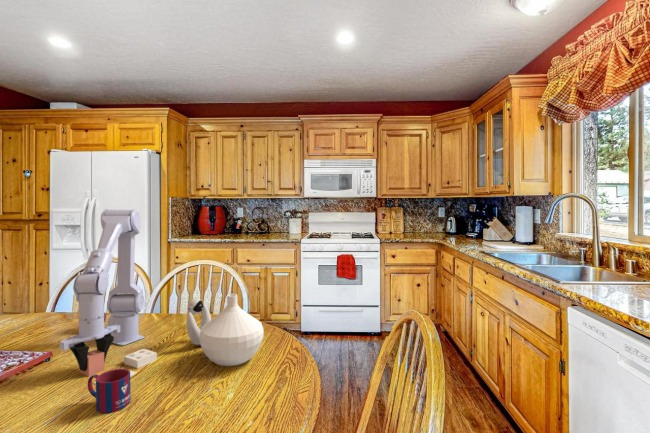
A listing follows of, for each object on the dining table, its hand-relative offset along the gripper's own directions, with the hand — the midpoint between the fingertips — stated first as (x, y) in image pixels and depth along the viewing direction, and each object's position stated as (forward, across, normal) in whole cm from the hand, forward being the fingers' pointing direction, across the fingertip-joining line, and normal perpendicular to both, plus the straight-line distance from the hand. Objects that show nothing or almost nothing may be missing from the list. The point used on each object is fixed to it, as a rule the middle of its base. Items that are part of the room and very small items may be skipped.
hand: (92, 366), depth 95 cm
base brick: (+2, +10, -6) cm, 12 cm away
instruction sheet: (+1, +1, -9) cm, 9 cm away
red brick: (+2, 0, 0) cm, 2 cm away
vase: (+2, +24, -28) cm, 37 cm away
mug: (+2, -7, -19) cm, 20 cm away
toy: (+2, +27, -11) cm, 29 cm away
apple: (+2, +18, +32) cm, 37 cm away
